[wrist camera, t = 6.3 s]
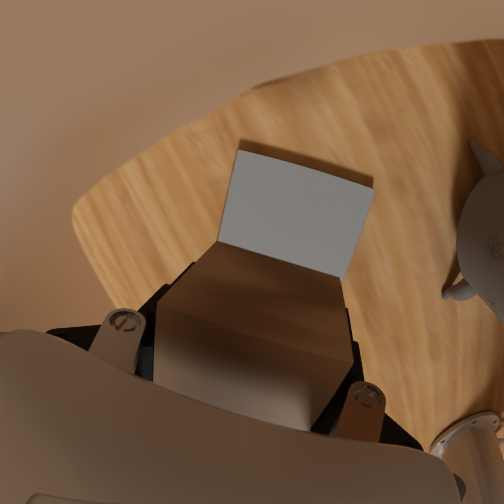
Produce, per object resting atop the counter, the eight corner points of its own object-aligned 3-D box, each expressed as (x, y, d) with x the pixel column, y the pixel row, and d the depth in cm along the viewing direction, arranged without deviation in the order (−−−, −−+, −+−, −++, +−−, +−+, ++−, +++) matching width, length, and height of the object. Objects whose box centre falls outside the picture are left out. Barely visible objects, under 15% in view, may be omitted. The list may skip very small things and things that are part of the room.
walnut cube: (339, 277, 11) (353, 362, 6) (299, 368, 13) (288, 457, 8) (217, 240, 11) (156, 302, 7) (198, 337, 13) (153, 413, 9)
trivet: (373, 188, 21) (375, 189, 21) (329, 305, 26) (330, 310, 25) (240, 149, 22) (238, 149, 22) (213, 270, 27) (210, 273, 26)
